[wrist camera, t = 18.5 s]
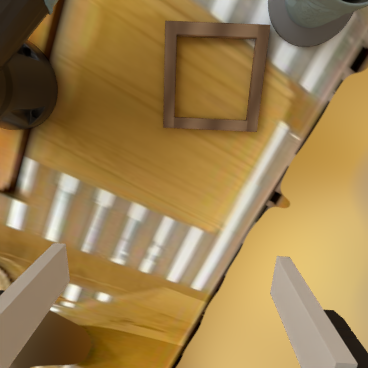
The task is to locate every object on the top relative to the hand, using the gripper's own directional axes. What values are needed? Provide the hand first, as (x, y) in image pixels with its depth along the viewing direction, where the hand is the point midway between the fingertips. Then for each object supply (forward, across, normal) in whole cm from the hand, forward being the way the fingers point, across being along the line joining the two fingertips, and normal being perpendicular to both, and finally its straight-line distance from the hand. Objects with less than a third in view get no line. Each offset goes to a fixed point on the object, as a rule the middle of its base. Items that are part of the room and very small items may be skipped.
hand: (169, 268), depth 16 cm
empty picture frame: (+32, +4, +14) cm, 35 cm away
